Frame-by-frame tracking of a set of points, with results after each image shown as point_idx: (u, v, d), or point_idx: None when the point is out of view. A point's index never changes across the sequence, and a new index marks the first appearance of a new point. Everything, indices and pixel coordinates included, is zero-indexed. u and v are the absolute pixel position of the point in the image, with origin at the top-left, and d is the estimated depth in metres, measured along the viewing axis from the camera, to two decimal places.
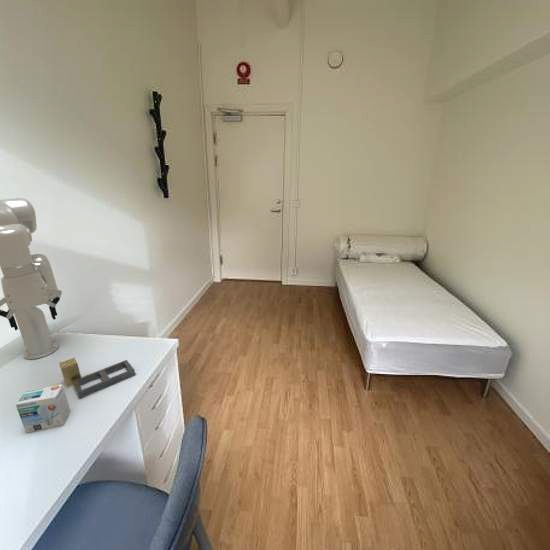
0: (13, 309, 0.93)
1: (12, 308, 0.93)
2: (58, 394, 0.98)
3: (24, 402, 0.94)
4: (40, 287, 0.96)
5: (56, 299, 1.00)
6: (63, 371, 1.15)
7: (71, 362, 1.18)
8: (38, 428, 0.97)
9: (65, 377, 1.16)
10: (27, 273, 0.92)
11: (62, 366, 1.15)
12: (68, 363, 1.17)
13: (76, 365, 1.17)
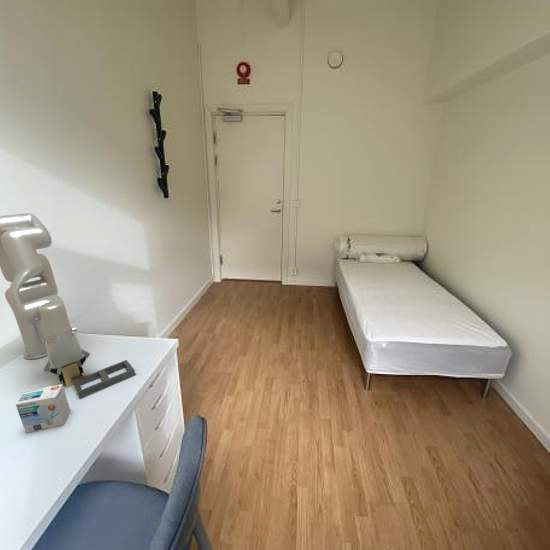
0: (55, 367, 1.13)
1: (54, 366, 1.13)
2: (58, 394, 0.98)
3: (24, 402, 0.94)
4: (76, 347, 1.16)
5: (83, 360, 1.20)
6: (63, 371, 1.15)
7: None
8: (38, 428, 0.97)
9: (65, 377, 1.16)
10: (67, 338, 1.12)
11: (62, 366, 1.15)
12: None
13: (76, 365, 1.17)
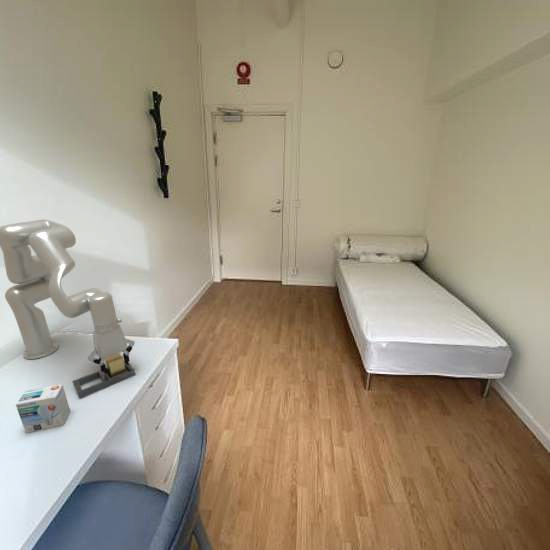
0: (102, 357, 1.15)
1: (101, 356, 1.15)
2: (58, 394, 0.98)
3: (24, 402, 0.94)
4: (121, 338, 1.18)
5: (129, 348, 1.22)
6: (110, 365, 1.17)
7: (117, 356, 1.20)
8: (38, 428, 0.97)
9: (112, 371, 1.18)
10: (114, 329, 1.14)
11: (109, 361, 1.18)
12: (114, 358, 1.19)
13: (122, 360, 1.19)
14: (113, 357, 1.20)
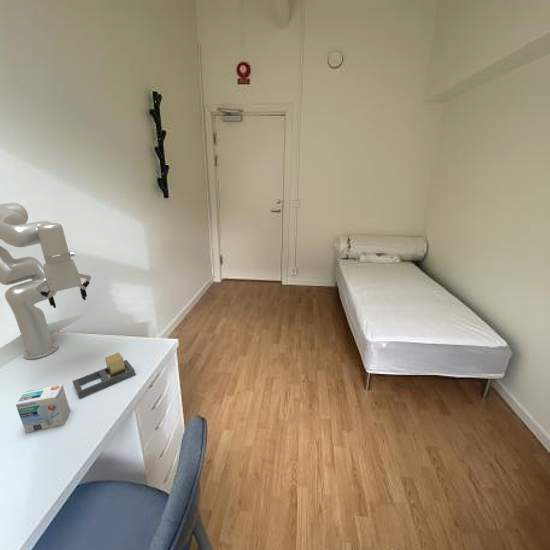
0: (53, 290, 1.13)
1: (52, 289, 1.12)
2: (58, 394, 0.98)
3: (24, 402, 0.94)
4: (74, 272, 1.16)
5: (86, 283, 1.20)
6: (110, 365, 1.17)
7: (117, 356, 1.20)
8: (38, 428, 0.97)
9: (112, 371, 1.18)
10: (65, 260, 1.12)
11: (109, 361, 1.18)
12: (114, 358, 1.19)
13: (122, 360, 1.19)
14: (113, 357, 1.20)
